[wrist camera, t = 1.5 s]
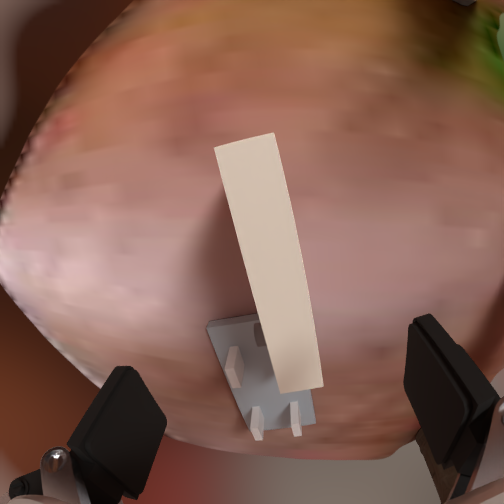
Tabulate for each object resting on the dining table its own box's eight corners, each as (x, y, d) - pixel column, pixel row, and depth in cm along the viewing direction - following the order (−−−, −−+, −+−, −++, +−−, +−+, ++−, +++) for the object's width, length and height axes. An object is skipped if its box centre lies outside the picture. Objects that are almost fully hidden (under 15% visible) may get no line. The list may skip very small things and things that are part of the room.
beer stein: (422, 448, 40) (452, 516, 21) (403, 437, 39) (436, 517, 19) (479, 402, 37) (521, 464, 18) (468, 384, 35) (520, 455, 16)
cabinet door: (273, 146, 26) (273, 132, 13) (306, 295, 31) (323, 386, 17) (231, 156, 27) (191, 154, 13) (268, 302, 31) (263, 396, 18)
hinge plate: (294, 306, 31) (297, 334, 26) (315, 416, 37) (317, 444, 32) (209, 321, 33) (198, 349, 27) (250, 424, 38) (247, 451, 33)
